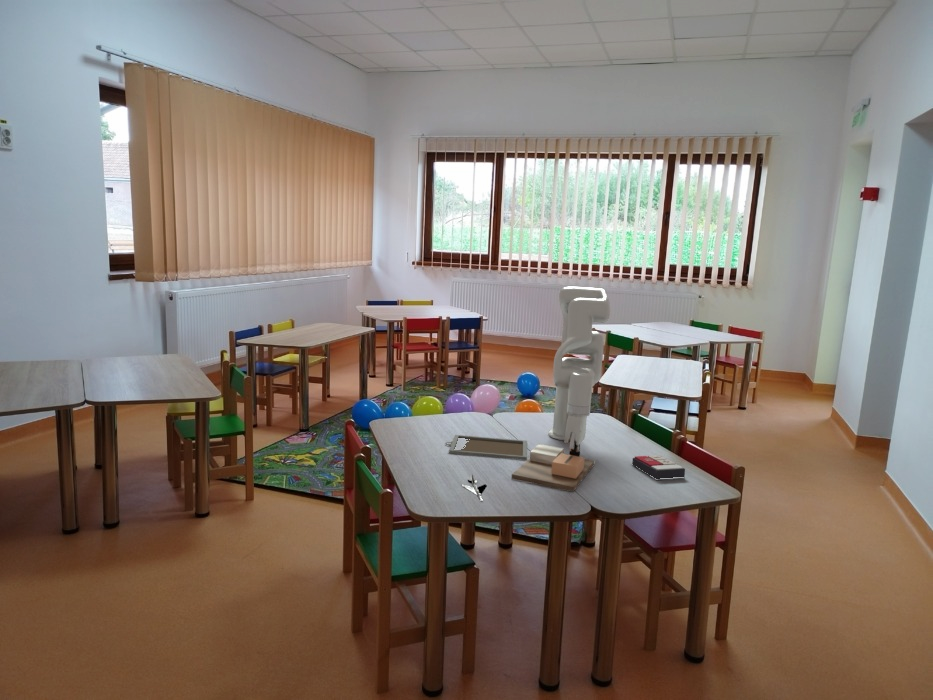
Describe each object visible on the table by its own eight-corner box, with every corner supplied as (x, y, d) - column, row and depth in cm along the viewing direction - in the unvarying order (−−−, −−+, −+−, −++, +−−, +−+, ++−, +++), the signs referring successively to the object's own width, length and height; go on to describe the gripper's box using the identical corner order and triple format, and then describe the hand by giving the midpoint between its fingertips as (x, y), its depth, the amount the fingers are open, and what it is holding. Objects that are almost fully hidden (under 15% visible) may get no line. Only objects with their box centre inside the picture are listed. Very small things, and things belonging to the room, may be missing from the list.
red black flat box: (659, 454, 223) (685, 466, 208) (658, 465, 223) (684, 479, 209) (632, 455, 219) (657, 468, 205) (631, 467, 220) (656, 481, 206)
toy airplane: (468, 503, 180) (469, 495, 179) (457, 476, 200) (457, 469, 200) (495, 503, 181) (495, 495, 181) (481, 476, 202) (481, 469, 201)
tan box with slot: (560, 464, 210) (560, 452, 209) (583, 469, 207) (584, 457, 206) (551, 473, 201) (552, 461, 200) (575, 478, 198) (576, 466, 197)
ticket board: (538, 454, 225) (539, 442, 224) (594, 464, 217) (595, 452, 216) (511, 478, 200) (512, 465, 199) (573, 491, 192) (574, 477, 191)
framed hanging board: (527, 457, 218) (441, 449, 221) (526, 461, 218) (441, 454, 221) (527, 440, 237) (448, 434, 240) (526, 444, 237) (448, 438, 240)
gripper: (573, 403, 216) (568, 454, 219) (561, 412, 202) (556, 466, 205) (594, 406, 213) (590, 458, 216) (584, 416, 199) (579, 471, 202)
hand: (573, 462), depth 210 cm, fingers closed
